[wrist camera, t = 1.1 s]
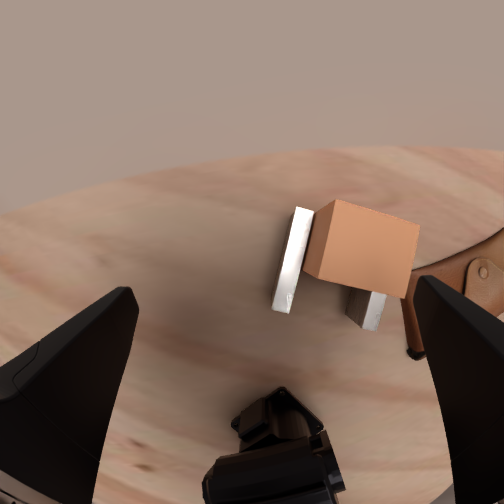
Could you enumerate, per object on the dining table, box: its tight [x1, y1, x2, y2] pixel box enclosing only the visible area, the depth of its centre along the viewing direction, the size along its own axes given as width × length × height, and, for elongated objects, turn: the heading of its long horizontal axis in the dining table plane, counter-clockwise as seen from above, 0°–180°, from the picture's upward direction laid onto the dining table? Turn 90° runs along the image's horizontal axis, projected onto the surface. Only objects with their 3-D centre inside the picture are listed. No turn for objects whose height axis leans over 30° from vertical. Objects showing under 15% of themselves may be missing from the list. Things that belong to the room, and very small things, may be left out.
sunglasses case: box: [400, 228, 504, 360], centre depth 23 cm, size 18×7×7 cm
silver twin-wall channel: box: [271, 207, 387, 331], centre depth 22 cm, size 7×8×5 cm
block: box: [300, 199, 420, 299], centre depth 19 cm, size 4×5×10 cm
